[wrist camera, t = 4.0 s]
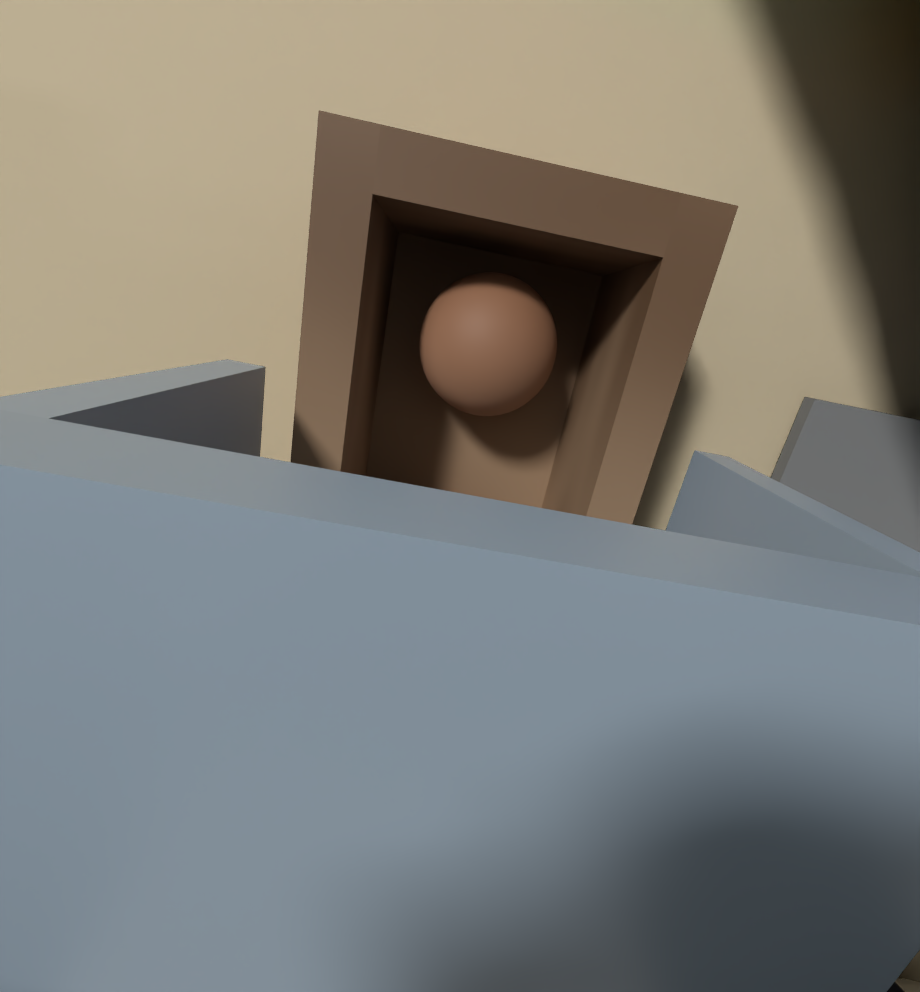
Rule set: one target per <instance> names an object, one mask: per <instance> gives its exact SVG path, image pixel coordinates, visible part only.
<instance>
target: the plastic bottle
mask: <svg viewBox="0 0 920 992" xmlns="http://www.w3.org/2000/svg"><path fill="white" fill-rule="evenodd" d="M895 982H896V983H897V984H898V985H899V986H900V987H901V988H902V989H903V990H904V991H905V992H920V982H918V981H913V980H908V979H899V978H897V979H896V980H895Z"/></svg>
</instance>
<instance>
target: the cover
mask: <svg viewBox="0 0 920 992" xmlns="http://www.w3.org/2000/svg"><path fill="white" fill-rule="evenodd" d="M264 383H265V367H264V366H258V365H253V364H248V363H243V362H238V361H233V360H228V359H227V360H221V361H215V362H209V363H203V364H197V365H191V366H185V367H179V368H172V369H166V370H160V371H154V372H148V373H142V374H136V375H130V376H124V377H118V378H112V379H106V380H100V381H94V382H88V383H81V384H75V385H69V386H63V387H57V388H51V389H45V390H39V391H33V392H27V393H21V394H15V395H9V396H3V397H0V992H887V991H888V989H889V988H890V987H891V985H892V984H893V983H894V982H895V980H896V979H897V978H898V977H899V975H900V974H901V973H902V972H903V970H904V969H905V968H906V966H907V965H908V964H909V963H910V961H911V960H912V959H913V958H914V956H915V955H916V954H917V952H918V951H919V950H920V552H918V551H916V550H914V549H912V548H910V547H908V546H906V545H904V544H902V543H900V542H898V541H896V540H894V539H892V538H890V537H888V536H886V535H884V534H882V533H880V532H878V531H876V530H874V529H872V528H870V527H868V526H866V525H864V524H862V523H860V522H858V521H856V520H854V519H852V518H850V517H848V516H846V515H844V514H842V513H840V512H838V511H836V510H834V509H832V508H830V507H828V506H826V505H824V504H822V503H820V502H818V501H816V500H814V499H812V498H810V497H808V496H806V495H804V494H802V493H800V492H798V491H796V490H794V489H792V488H790V487H788V486H786V485H784V484H782V483H780V482H778V481H776V480H774V479H772V478H770V477H768V476H766V475H764V474H762V473H760V472H758V471H756V470H754V469H752V468H750V467H748V466H746V465H744V464H742V463H740V462H738V461H736V460H734V459H732V458H730V457H727V456H722V455H716V454H711V453H706V452H701V451H696V450H695V451H694V453H693V456H692V459H691V462H690V464H689V467H688V470H687V473H686V475H685V478H684V481H683V484H682V487H681V489H680V492H679V495H678V498H677V500H676V503H675V506H674V509H673V511H672V514H671V517H670V520H669V523H668V525H667V528H666V531H665V530H659V529H654V528H648V527H643V526H637V525H632V524H626V523H621V522H615V521H610V520H604V519H599V518H593V517H588V516H582V515H577V514H571V513H566V512H560V511H555V510H549V509H544V508H538V507H533V506H527V505H522V504H516V503H511V502H505V501H500V500H494V499H489V498H483V497H478V496H472V495H467V494H461V493H456V492H450V491H445V490H439V489H434V488H428V487H423V486H417V485H412V484H406V483H401V482H395V481H390V480H384V479H379V478H373V477H368V476H362V475H357V474H351V473H346V472H340V471H335V470H329V469H324V468H318V467H313V466H307V465H302V464H296V463H291V462H285V461H280V460H274V459H269V458H263V457H260V447H261V431H262V415H263V399H264Z"/></svg>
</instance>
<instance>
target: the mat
mask: <svg viewBox="0 0 920 992" xmlns="http://www.w3.org/2000/svg"><path fill="white" fill-rule="evenodd" d="M771 478H772V479H774V480H776V481H778V482H780V483H782V484H784V485H786V486H788V487H790V488H792V489H794V490H796V491H798V492H800V493H802V494H804V495H806V496H808V497H810V498H812V499H814V500H816V501H818V502H820V503H822V504H824V505H826V506H828V507H830V508H832V509H834V510H836V511H838V512H840V513H842V514H844V515H846V516H848V517H850V518H852V519H854V520H856V521H858V522H860V523H862V524H864V525H866V526H868V527H870V528H872V529H874V530H876V531H878V532H880V533H882V534H884V535H886V536H888V537H890V538H892V539H894V540H896V541H898V542H900V543H902V544H904V545H906V546H908V547H910V548H912V549H914V550H916V551H918V552H920V420H916V419H911V418H907V417H902V416H897V415H892V414H887V413H882V412H877V411H872V410H867V409H862V408H857V407H852V406H847V405H842V404H837V403H833V402H828V401H823V400H818V399H813V398H808V397H804V400H803V402H802V405H801V407H800V409H799V412H798V414H797V417H796V419H795V421H794V424H793V426H792V428H791V431H790V433H789V436H788V438H787V440H786V443H785V445H784V447H783V450H782V452H781V455H780V457H779V459H778V462H777V464H776V466H775V469H774V471H773V474H772V476H771Z"/></svg>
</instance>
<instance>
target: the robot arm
mask: <svg viewBox="0 0 920 992" xmlns="http://www.w3.org/2000/svg"><path fill="white" fill-rule="evenodd" d="M887 992H905V991H904V990H903V989H902V988H901V987H900V986H899V985H898V984H897V983H896V982H894V983H893V984H892V985H891V987H890V988H889V989H888V991H887Z"/></svg>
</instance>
